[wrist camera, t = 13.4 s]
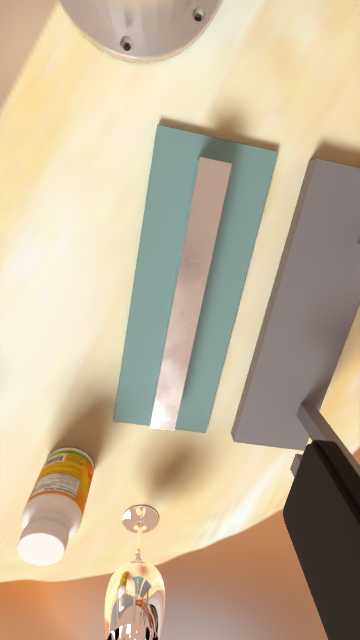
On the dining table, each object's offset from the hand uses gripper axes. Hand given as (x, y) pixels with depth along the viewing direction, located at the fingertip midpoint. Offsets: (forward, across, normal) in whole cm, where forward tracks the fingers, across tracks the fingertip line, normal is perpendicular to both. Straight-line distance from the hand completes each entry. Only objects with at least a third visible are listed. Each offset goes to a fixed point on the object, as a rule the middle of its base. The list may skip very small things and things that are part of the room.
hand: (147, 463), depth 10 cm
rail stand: (+23, -15, +2) cm, 27 cm away
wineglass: (+22, -2, +30) cm, 37 cm away
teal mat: (+23, -3, +2) cm, 23 cm away
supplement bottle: (+22, +7, +23) cm, 33 cm away
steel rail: (+22, -3, +2) cm, 22 cm away
